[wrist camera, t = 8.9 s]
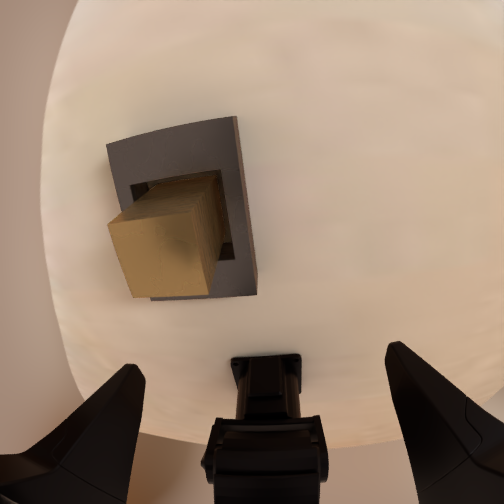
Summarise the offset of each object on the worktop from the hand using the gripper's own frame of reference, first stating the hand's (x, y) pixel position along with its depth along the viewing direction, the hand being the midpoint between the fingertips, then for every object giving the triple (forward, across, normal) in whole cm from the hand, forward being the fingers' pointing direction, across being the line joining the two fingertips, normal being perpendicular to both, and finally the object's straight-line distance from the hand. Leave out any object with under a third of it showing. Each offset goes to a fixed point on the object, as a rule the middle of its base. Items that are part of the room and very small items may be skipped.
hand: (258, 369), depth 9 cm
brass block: (+11, +4, -2) cm, 12 cm away
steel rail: (+11, +4, -2) cm, 12 cm away
